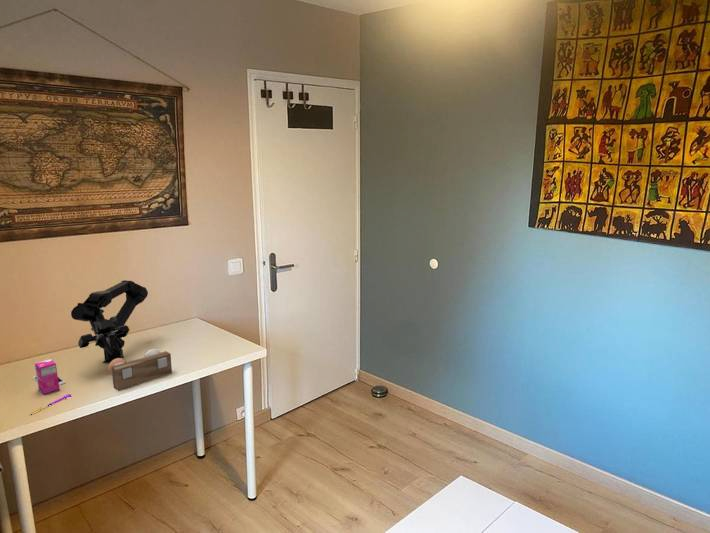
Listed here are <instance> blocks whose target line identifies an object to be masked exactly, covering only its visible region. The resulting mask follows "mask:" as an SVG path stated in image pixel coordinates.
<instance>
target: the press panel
mask: <svg viewBox="0 0 710 533" xmlns="http://www.w3.org/2000/svg"><path fill="white" fill-rule="evenodd" d="M160 352H161V351H160ZM162 357H166V358H167V366H166V367H163V368H160V369H158V368H157V361H156V359H159V358H162ZM128 367H131V368H132V377H129V378H125V379H122V374H121V370H122V369H125V368H128ZM171 374H173V369H172V355H171V352H168V351H166V350H165V351H162V352H161V353H157V354H154V355H150V356H147V357H144V356H143V357H141V358H137V359H134V360H129V361H126V363H123V364H119V365H116V366H112V374H111V375H112V376H111V377H112V386H113V388H114V389H115V390H116V391H117V390H118V391H122V390H125V389H127V388H132V387H134V386H138V385H141V384H143V383H147V382H149V381H152V380H156V379H159V378H162V377H165V376H168V375H171ZM131 386H132V387H131ZM118 391H117V392H118Z"/></svg>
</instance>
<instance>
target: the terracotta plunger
mask: <svg viewBox="0 0 710 533" xmlns="http://www.w3.org/2000/svg"><path fill="white" fill-rule="evenodd" d="M126 362H127V360H125V359H124V358H123V359H122V358H116V359H114V360H112V361H111V362H110V363H108V364H109V365H108V366H107V367H108V368H107V370H108V372H109V374H110V375H112V366H116V365H119V364H123V363H126ZM121 374H122V379H125V378H129V377H132V368H131V367H128V368H125V369H122V370H121Z"/></svg>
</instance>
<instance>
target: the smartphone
mask: <svg viewBox="0 0 710 533" xmlns="http://www.w3.org/2000/svg"><path fill="white" fill-rule="evenodd" d="M33 378H34V379H35V380H34V379H33ZM32 379H33V380H34V381H35V382H37V376H36V375H34V376H32ZM58 381H59V386H61V385H65V384H66V381H65V380H63V379H62V378H61V377H59V376H58Z"/></svg>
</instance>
